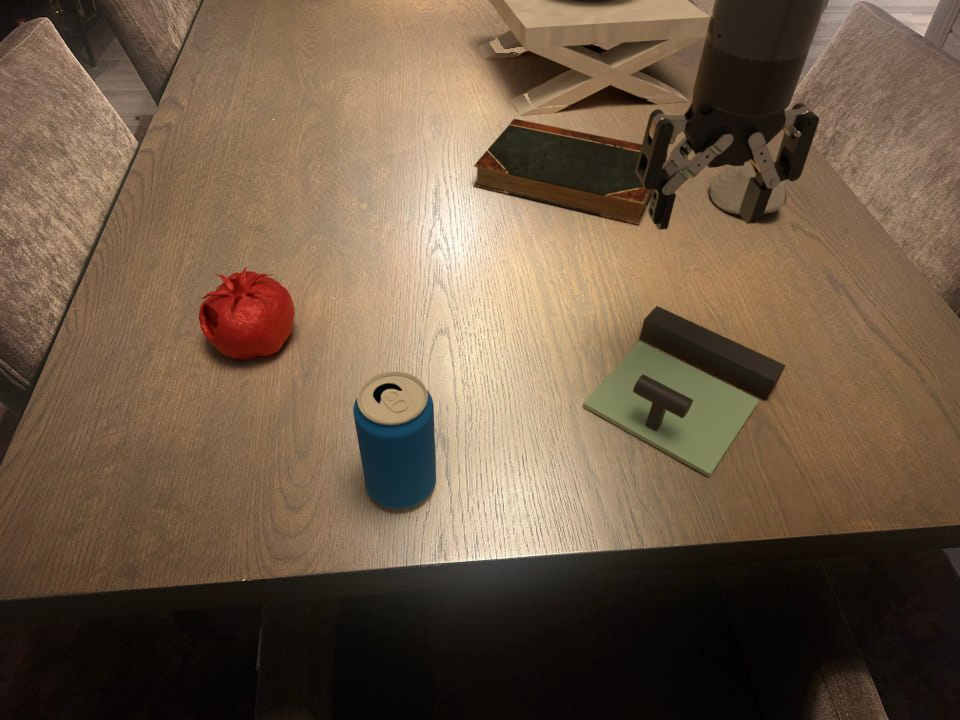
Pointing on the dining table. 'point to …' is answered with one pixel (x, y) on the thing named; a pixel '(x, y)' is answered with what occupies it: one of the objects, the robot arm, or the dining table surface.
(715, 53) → the robot arm
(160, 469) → the dining table surface
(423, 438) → the beverage can
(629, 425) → the sign
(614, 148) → the book
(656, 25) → the wooden side table
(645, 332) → the stand
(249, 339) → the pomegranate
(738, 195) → the seashell
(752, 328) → the dining table surface
